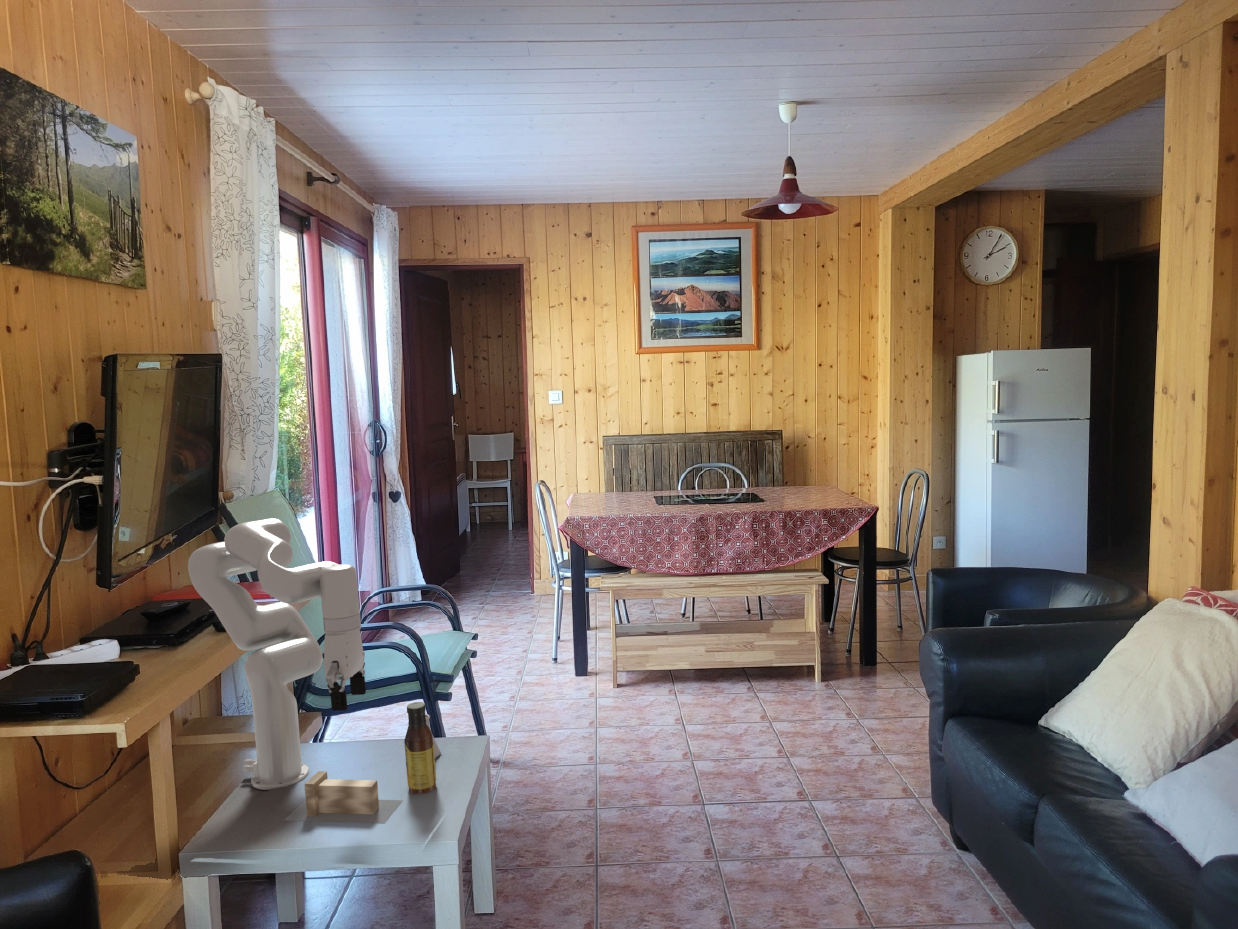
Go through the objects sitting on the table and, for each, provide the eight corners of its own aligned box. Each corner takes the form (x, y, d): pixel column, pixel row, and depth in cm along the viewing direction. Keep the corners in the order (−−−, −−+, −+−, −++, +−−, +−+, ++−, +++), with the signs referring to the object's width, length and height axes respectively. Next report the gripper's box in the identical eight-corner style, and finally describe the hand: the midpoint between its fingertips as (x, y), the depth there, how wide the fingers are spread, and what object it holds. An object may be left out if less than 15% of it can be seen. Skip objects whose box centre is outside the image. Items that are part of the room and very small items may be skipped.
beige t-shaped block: (306, 816, 183) (304, 784, 182) (320, 802, 189) (318, 771, 188) (370, 818, 181) (367, 785, 180) (381, 804, 187) (379, 772, 186)
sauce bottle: (417, 782, 198) (412, 697, 196) (442, 785, 196) (436, 699, 194) (402, 795, 192) (396, 708, 190) (427, 798, 190) (421, 710, 188)
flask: (423, 765, 208) (421, 724, 207) (403, 758, 212) (401, 718, 211) (446, 754, 213) (444, 714, 212) (427, 748, 218) (424, 709, 217)
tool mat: (284, 823, 182) (284, 820, 182) (307, 800, 192) (307, 797, 191) (384, 826, 179) (384, 823, 178) (403, 803, 188) (403, 800, 188)
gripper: (342, 614, 194) (349, 689, 195) (306, 635, 177) (314, 717, 178) (374, 612, 193) (381, 688, 194) (342, 633, 176) (349, 716, 177)
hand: (349, 702), depth 186 cm, fingers open, 9 cm apart
